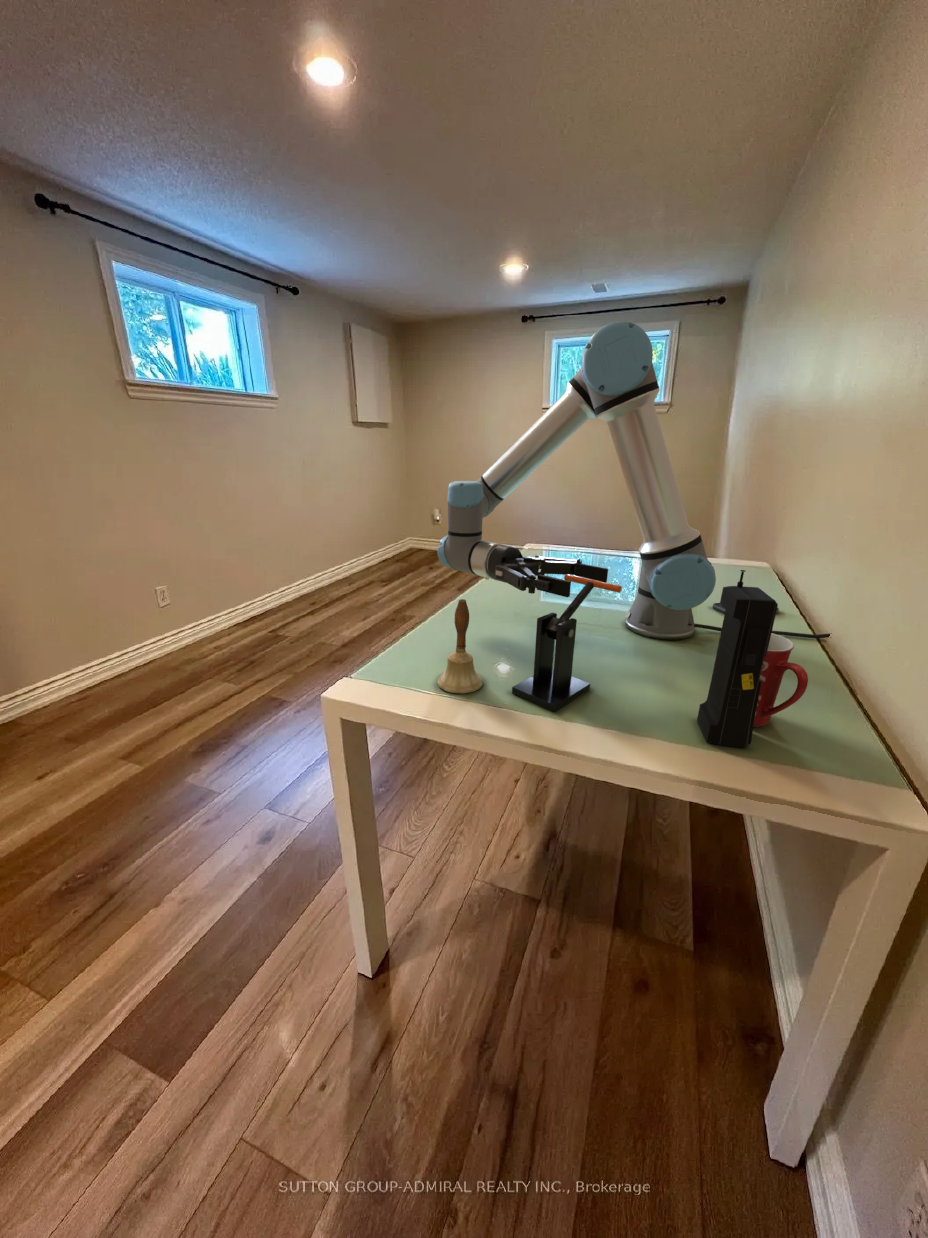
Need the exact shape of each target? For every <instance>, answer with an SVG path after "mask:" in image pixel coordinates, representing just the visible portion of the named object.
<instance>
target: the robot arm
mask: <svg viewBox="0 0 928 1238" xmlns="http://www.w3.org/2000/svg"><path fill="white" fill-rule="evenodd" d="M653 350H654V349H653V345H652V342H651V339H650V337H649V336H648V334H647V333H646V331H645V330H644V328H642V327H640V325H638V324H636V323H633V322H631V321H624V320H619V321H613V322H609V323H607V324H606V325H603V326H601V328H599V329H598V330H596V332H594V334H593V335H592V336H591V337H590V338H589V340H588V341H587V342H586V344H585V346H584V348H583V350H582V354H581V359H580V368H579V370H578V371H577V372H576V374H575V375H574V376H573V377H572V378H571V379H570V380H569V381H568V382H567V383H566V390H565V392H564V393H563V394H562V395H561V396H560V397H559V398H558V399H557V400H556V401H555V402H554V403H553V404H552V405H551V406H550V407H549V408H548V409H547V410H546V411H545V412H544V413H543V414H542V415H541V416H540V417H539V418H538V419H537V420H536V421H535V422H534V423H533V424H532V425H531V426H530V427H529V428H528V429H527V430H526V431H525V432H524V433H523V434H522V435H521V436H519V438H518V439H517V440H516V441H515V442H514V443H513V444H512V445H511V446H510V447H509V448H508V449H507V450H506V451H505V452H504V453H503V454H502V455H501V456H500V457H499V458H498V459H497V460H496V461H495V462H493V464H492V465H491V466H490V467H489V468H488V469H487V470H486V471H485V472H484V473H483V474H482V475H481V476H480V477H479V478H478V479H477V480H454V481H451V482H450V483H449V484H448V487H447V497H446V501H447V535H444V536H443V537H442V538H441V539H440V541H439V545H438V547H437V552H436V553H437V558H438V560H439V562H440V564H442V566H444V567H446V568H449V569H452V570H454V571H457V572H462V573H467V574H471V575H475V576H479V577H484V579H485V580H486V581H488V580H489V579H491V580H494V581H498V582H501V583H505V584H508V585H510V586H512V587H513V588H516V589H517V590H519V591H521V592H524V591H527V593H528V594H535V592H536V591H540V592H544V593H548V594H552V595H556V596H560V597H564V598H569V597H571V586H572V582H571V581H567V580H564V578H563V579H562V578H558V577H553V576H548V575H562V576H563V575H564V576H565V575H566V574H569V575H573V576H578V577H582V578H587V579H591V580H596V581H601V582H605V583H608V574H609V568H607V567H601V566H596V565H591V564H586V563H583V560H582V559H581V558H578V557H577V558H576V559H574V558H573V559H572V558H560V557H550V556H542V555H534V557H532V556H527V555H526V556H523V554H522V552H521V550H520V549H519V548H518V547H516V546H513V545H507V544H502V543H498V542H492V541H486V540H483V519H484V518H486V517H488V516H489V515H490V514H492V513H493V511H494V510H495V509H496V508H497V507H498V506H499V505H500V504H501V503H502V502H503V501H504V500H505V499H506V498H507V497H508V496H509V495H510V494H511V493H512V492H513V491H515V489H516V488H518V486H519V485H520V484H522V483H523V482H524V481H525V480H526V479H527V478H528V477H529V476H530V475H531V474H533V472H535V470H537V468H539V467H540V466H541V465H542V464H543V463H544V462H545V461H546V460H547V459H548V458H549V457H550V456H552V454H554V452H556V451H557V450H558V449H559V448H560V447H561V446H562V445H563V444H564V443H565V442H566V441H567V440H568V439H569V438H570V437H572V436H573V435H574V434H575V433H576V432H577V430H579V429H580V428H581V427H582V426H583V425H584V424H585V423H586V422H587V421H588V420H590V419H599V420H601V421H603V422H605V423H606V424H607V426H608V427H607V428H608V430H609V433H610V436H611V439H612V442H613V447H614V449H615V453H616V455H617V458H618V462H619V465H620V468H621V471H622V475H623V478H624V481H625V484H626V488H627V491H628V494H629V497H630V500H631V504H632V507H633V510H634V514H635V517H636V520H637V523H638V527H639V530H640V533H641V536H642V539H643V541H642V543H641V545H640V546H639V549H638V553H639V557H640V559H641V564H640V565H641V566H640V570H639V571H640V572H639V579H638V586H637V593H636V596H635V598H634V600H633V602H632V604H631V606H630V607H629V608H628V610H627V611H626V613H625V616H626V617H625V623H624V624H625V627H626V628H627V629H628V630H630V631H631V632H633V633H635V634H637V635H640V636H643V637H647V638H652V639H656V640H668V641H669V640H670V641H671V640H672V641H675V640H683V639H684V640H685V639H688V638H691V636H693V635H694V631H695V628H698V629H703V630H704V629H705V630H711V631H717V632H721V630H722V627H719V626H714V625H708V624H703V623H702V624H701V623H695V619H694V614H693V608H696V607H699V606H700V605H702V604H703V603H704V602H706V601H707V600H708V599H709V597H711V596H712V593H713V592H714V589H715V587H716V582H717V576H716V570H715V567H714V566H713V565H712V562H711V561H709V559H708V556H707V552H706V549H705V546H704V545H705V544H704V543H703V539H702V535H701V532H700V530H698V529H696V528H694V527H691V526H690V525H689V521H688V518H687V514H686V511H685V508H684V503H683V500H682V497H681V493H680V490H679V486H678V483H677V480H676V479H677V478H676V476H675V475H676V474H675V473H674V472H675V471H674V469H673V465H672V462H671V458H670V454H669V450H668V448H667V444H666V440H665V437H664V434H663V430H662V427H661V422H660V419H659V416H658V413H657V409H656V405H655V400H656V399H657V396H658V394H659V393H660V391H661V389H660V386H659V382H658V378H657V374H656V371H655V368H654V367H655V366H654V363H653V359H654V358H653V356H654V354H653V353H654V351H653ZM772 633H773V634H776V635H779V636H784V637H785V636H786V637H795V638H796V637H797V638H805V639H825V638H826V639H827V638H830V637H829V636H830V634H831V633H820V634H817V633H816V634H814V633H813V634H811V633H802V632H791V631H781V630H772Z"/></svg>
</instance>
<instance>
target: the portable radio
mask: <svg viewBox="0 0 928 1238" xmlns="http://www.w3.org/2000/svg"><path fill="white" fill-rule="evenodd" d="M745 572H746V570H745V569H740V578H739V581H737V583H736V585H729V586H723V587H722V590H721V591H722V592H721V595H720V601H719V603H720V604H721V605H722V606H723V607H724V608H725V609H726V610H725V614H724V616H723V620H722V624H721V628H722V630H721V631H720V635H719V640H718V645H717V650H716V655H715V658H714V659H715V660H714V663H713V664H714V665H713V670H712V674H711V680H710V683H709V689H708V693H707V698H706V699H705V701H704V702H702V703H700V704H699V708H698V712H697V717H696V722H697V725H698V727H699V730H700V732H701V734H702V737H703V739H704V740H705V741H704V742H706V743H710V744H712V745H719V746H724V747H734V748H742V749H746V748H748V746H750V745H751V744H752V740H753V739H752V737H753V730H754V727H753V725H754V719H755V713H756V708H757V703H758V698H759V693H760V688H761V683H762V682H761V681H760V680H759V679H760V675H761V670H762V666H763V661H764V658H765V657H766V654H767V650H768V646H769V641H770V637H771V633H772V631H773V629H774V624H775V619H776V616H777V613H776V611H777V607H778V608H779V604H778V603H777V601H776V600H775V599H774V598H772V597H771V596H770V595H769V594H768V593H766V592H765V591H764V590H762V589H761V588H760V587H758V586H757V587H756V586H744V580H743V579H744V574H745Z"/></svg>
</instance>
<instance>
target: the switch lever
mask: <svg viewBox="0 0 928 1238" xmlns="http://www.w3.org/2000/svg"><path fill="white" fill-rule="evenodd" d="M563 580H567V581H571V583H573V584H574V583H575V584H579V585H583V587H582V589H581V590H580V591H579V592H578V593H577V594H576V596H575V597H574V598H573V600H572V601H571V602H570V604H569V605H568V606H567V608H566V609H565V610H564V611H563V613H562V614H561V615H560V617H557V618H556V617H553V619H552V620H551V621H550V622H549V624H548V625H547V626H546V627H545V630H546V632H547V635H548V638H552V639H555V641H556V634H557V624H560V623H562V622H564V621H567V620H569V619H571V618H572V616H573V615H574V614H575V612H576V610H578V608H579V607H580V606H581V604H583V602H584V601H585V599H586V598H587V597H588V596H589V594H590V593H591V592H592V591H593V589H594V588H596V589H601V590H604V591H605V590H606V591H609V592H610V591H611V592H614V593H621V592H622V590H623V586H621V585H620V584H619V585H618V584H614V583H609V582H607V583H605V582H601V581H596V580H591V579H587V578H582V577H578V576H575V575H569V574H566V575H564V577H563Z"/></svg>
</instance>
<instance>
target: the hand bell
mask: <svg viewBox="0 0 928 1238" xmlns="http://www.w3.org/2000/svg"><path fill="white" fill-rule="evenodd" d="M469 610H470V609H469V607H468V603H467V600H466V599H464V598H462V599H459V600H458V603H457V606H456V608H455V612H454V626H455V631H456V646H455V651H453V652H451V653H450V654H449V655H448V657H447V663H446V668H445V670H444V672H443V673H442V674H441V675H440V676H439V677H438V679H437V683H436V684H437V686H438V687H439V688H440V689H441V690H443V691H446V692H448V693H453V694H468V693H474V692H476V691H478V690H479V689H481V688H482V686H483V683H484V682H483V679H482V678H481V676H480V675H479V674H478V673H477V672H476V669H475V664H474V657H473V655H472V654H471V653H469V652H468V651H466V648H467V637H466V636H467V630H468V628H469V624H470V611H469Z"/></svg>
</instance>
